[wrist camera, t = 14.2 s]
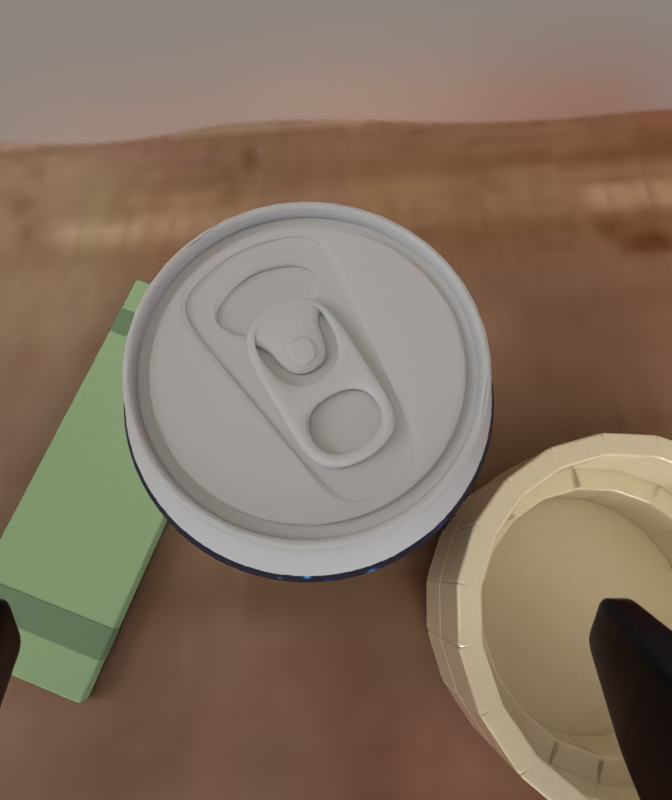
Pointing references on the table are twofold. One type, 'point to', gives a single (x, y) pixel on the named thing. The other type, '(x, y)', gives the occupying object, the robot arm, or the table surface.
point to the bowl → (551, 602)
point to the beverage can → (307, 391)
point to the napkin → (80, 533)
